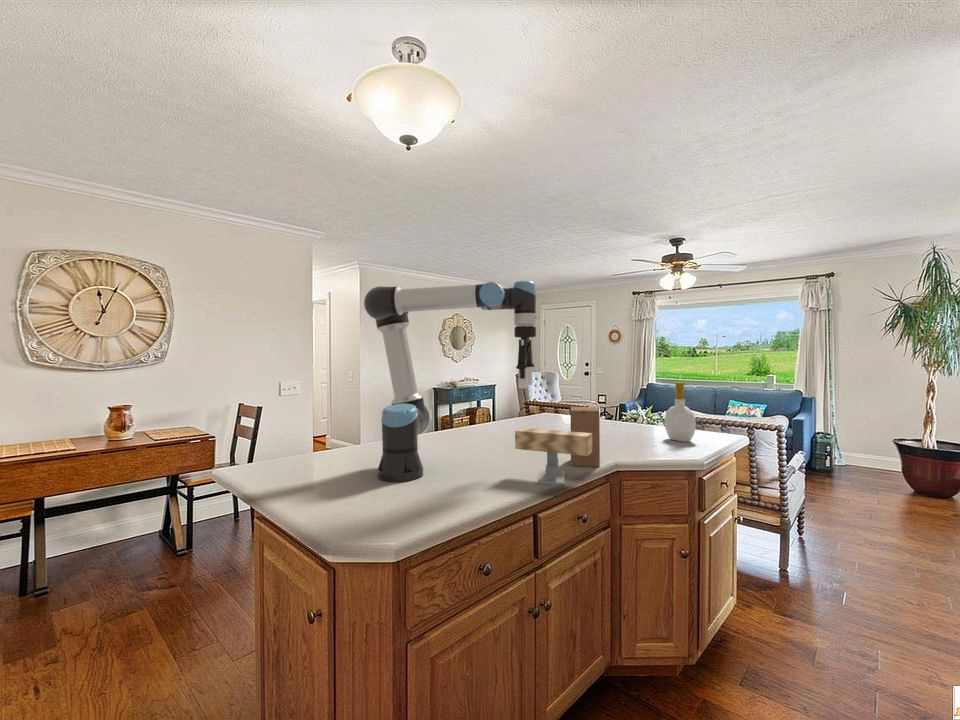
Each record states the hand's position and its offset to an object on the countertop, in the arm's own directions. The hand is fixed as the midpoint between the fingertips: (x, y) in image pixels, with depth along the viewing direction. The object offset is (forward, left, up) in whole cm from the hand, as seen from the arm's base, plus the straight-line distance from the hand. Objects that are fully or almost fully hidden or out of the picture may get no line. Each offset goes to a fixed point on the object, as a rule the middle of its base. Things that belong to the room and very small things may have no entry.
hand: (525, 386), depth 161 cm
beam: (+10, -11, -20) cm, 25 cm away
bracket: (+10, -11, -29) cm, 32 cm away
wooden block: (+20, +10, -29) cm, 37 cm away
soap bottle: (+61, +59, -29) cm, 90 cm away
